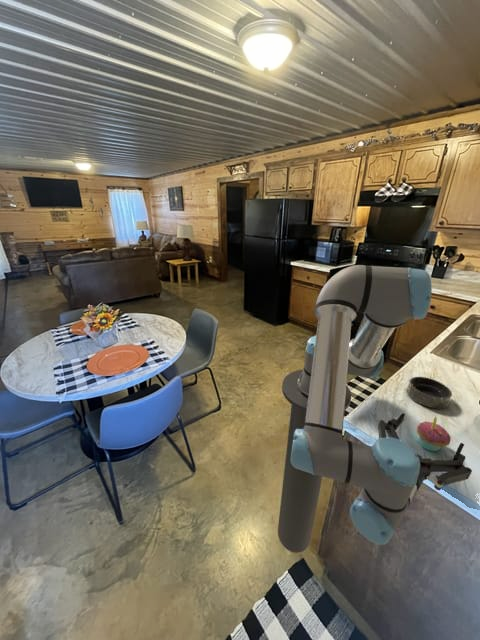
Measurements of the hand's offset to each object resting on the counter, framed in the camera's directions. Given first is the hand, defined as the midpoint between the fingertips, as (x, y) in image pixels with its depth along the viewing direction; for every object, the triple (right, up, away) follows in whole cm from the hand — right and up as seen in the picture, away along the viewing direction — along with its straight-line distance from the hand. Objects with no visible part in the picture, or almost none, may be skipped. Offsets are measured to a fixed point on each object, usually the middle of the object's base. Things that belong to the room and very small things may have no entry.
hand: (429, 431), depth 71 cm
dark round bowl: (+21, 0, +31) cm, 38 cm away
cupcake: (+7, -9, +11) cm, 16 cm away
